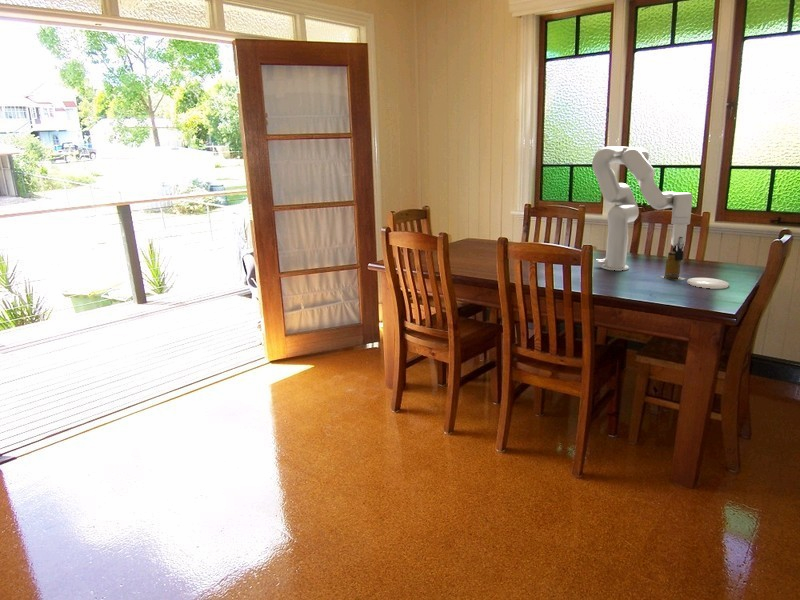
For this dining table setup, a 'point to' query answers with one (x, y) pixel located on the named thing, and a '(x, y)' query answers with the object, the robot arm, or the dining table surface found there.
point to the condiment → (672, 267)
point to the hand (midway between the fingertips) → (677, 258)
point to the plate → (708, 283)
